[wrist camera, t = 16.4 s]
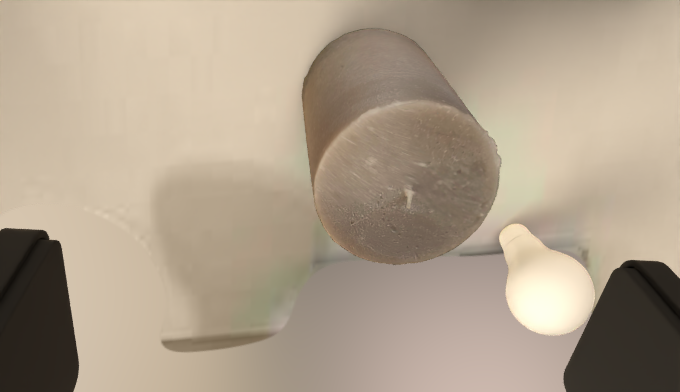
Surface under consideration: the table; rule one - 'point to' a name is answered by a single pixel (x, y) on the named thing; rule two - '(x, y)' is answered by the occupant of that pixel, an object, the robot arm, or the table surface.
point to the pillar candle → (394, 151)
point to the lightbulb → (544, 284)
